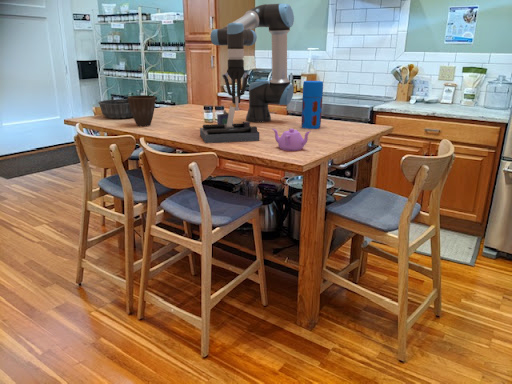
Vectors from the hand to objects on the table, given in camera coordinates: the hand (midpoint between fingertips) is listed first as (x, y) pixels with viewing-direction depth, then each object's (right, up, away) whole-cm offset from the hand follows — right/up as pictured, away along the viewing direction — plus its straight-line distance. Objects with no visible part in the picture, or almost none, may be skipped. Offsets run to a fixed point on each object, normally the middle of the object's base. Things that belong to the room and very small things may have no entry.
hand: (236, 110), depth 199 cm
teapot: (+25, -20, -15) cm, 36 cm away
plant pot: (-54, -2, +34) cm, 64 cm away
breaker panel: (-4, -13, +4) cm, 14 cm away
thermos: (+41, -3, +34) cm, 53 cm away
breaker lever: (-4, -9, +2) cm, 10 cm away
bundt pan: (-75, +8, +62) cm, 98 cm away
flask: (-7, -7, +23) cm, 25 cm away
